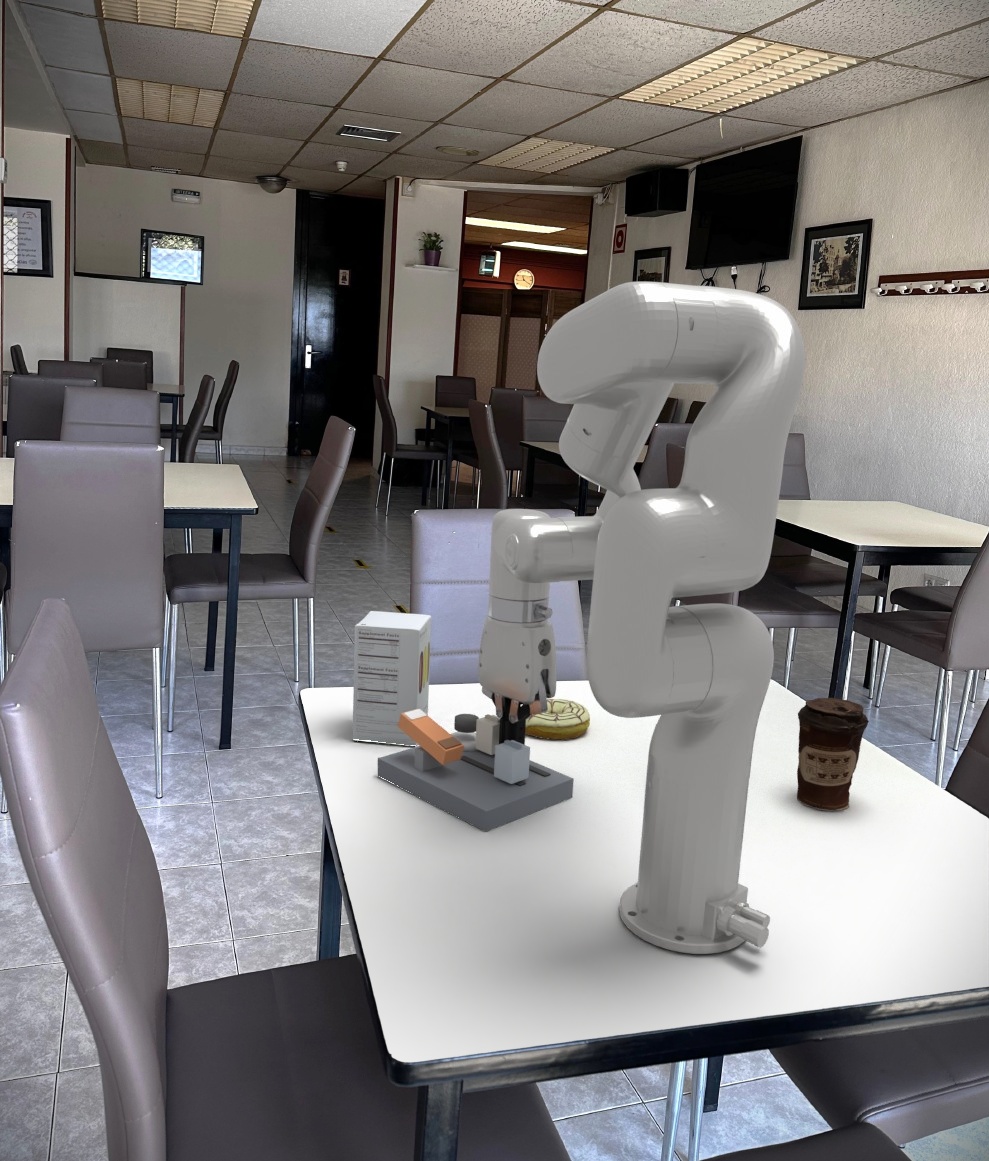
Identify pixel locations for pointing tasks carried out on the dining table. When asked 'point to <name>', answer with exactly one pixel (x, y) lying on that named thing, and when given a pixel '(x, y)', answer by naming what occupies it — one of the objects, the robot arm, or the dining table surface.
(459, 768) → the console
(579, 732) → the decorated donut
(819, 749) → the coffee cup
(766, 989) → the dining table surface
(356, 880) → the dining table surface
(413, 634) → the supplement box
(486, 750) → the ivory knob
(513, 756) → the slate knob
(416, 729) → the rocker switch
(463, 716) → the push button
